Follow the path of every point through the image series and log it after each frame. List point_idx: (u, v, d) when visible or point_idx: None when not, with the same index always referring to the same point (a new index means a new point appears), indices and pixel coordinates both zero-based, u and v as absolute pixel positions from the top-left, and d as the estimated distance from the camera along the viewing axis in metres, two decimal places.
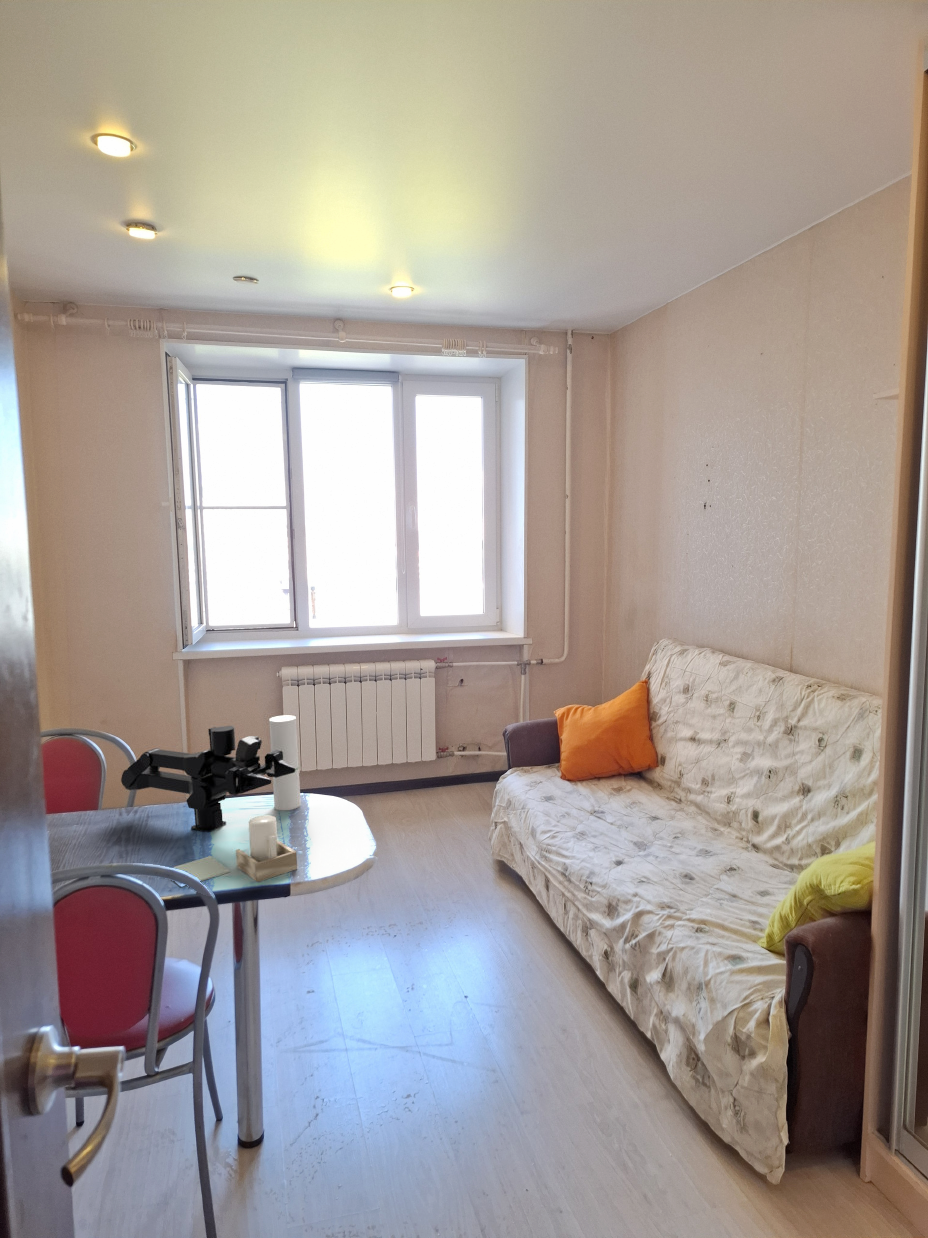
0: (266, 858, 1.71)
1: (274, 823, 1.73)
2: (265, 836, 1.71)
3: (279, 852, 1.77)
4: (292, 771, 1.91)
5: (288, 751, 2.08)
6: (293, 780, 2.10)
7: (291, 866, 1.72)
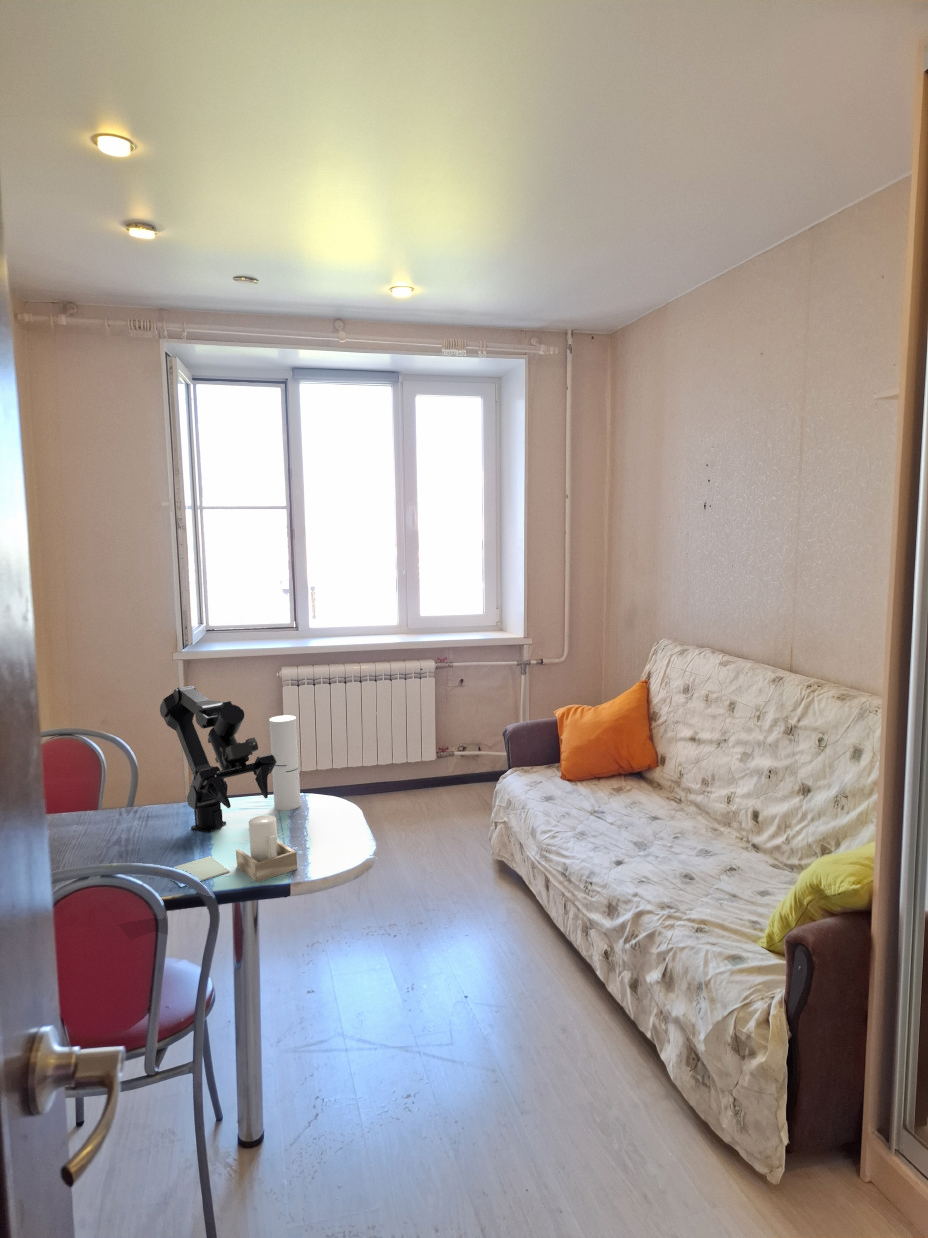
0: (266, 858, 1.71)
1: (274, 823, 1.73)
2: (265, 836, 1.71)
3: (279, 852, 1.77)
4: (264, 796, 1.82)
5: (288, 751, 2.08)
6: (293, 780, 2.10)
7: (291, 866, 1.72)
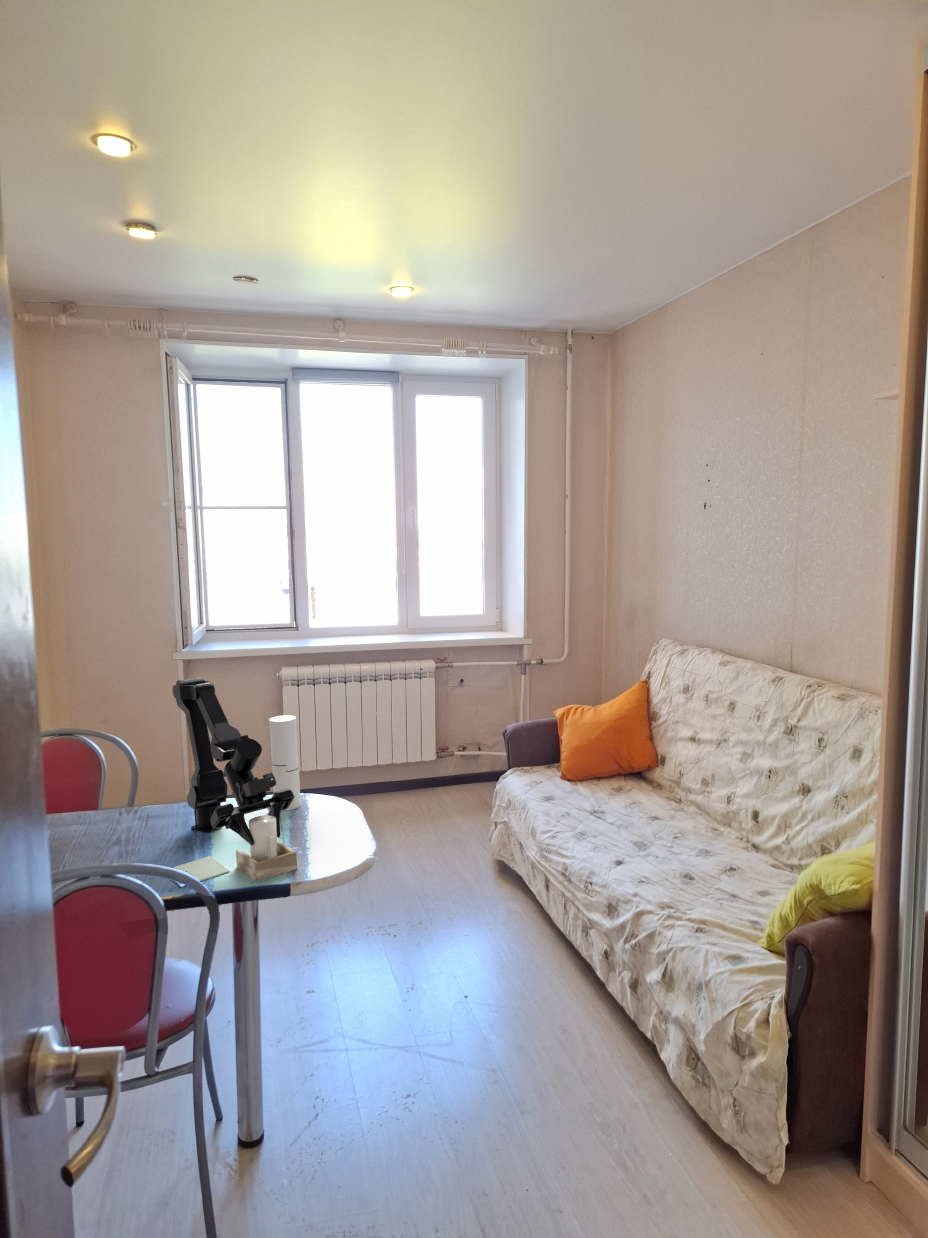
0: (266, 858, 1.71)
1: (274, 823, 1.73)
2: (265, 836, 1.71)
3: (279, 852, 1.77)
4: (277, 835, 1.75)
5: (288, 751, 2.08)
6: (293, 780, 2.10)
7: (291, 866, 1.72)
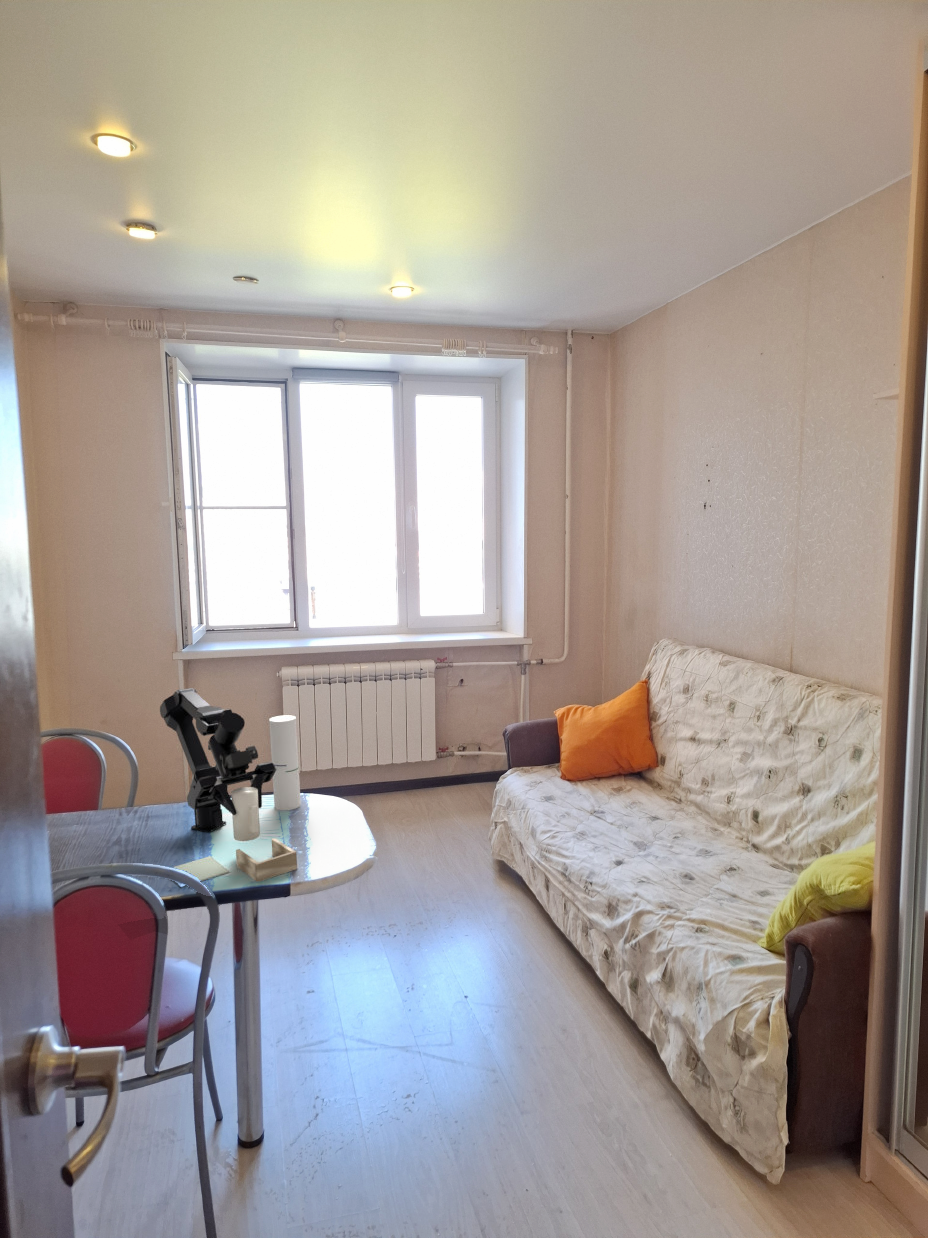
0: (248, 827, 1.78)
1: (256, 794, 1.79)
2: (246, 806, 1.77)
3: (279, 852, 1.77)
4: None
5: (288, 751, 2.08)
6: (293, 780, 2.10)
7: (291, 866, 1.72)
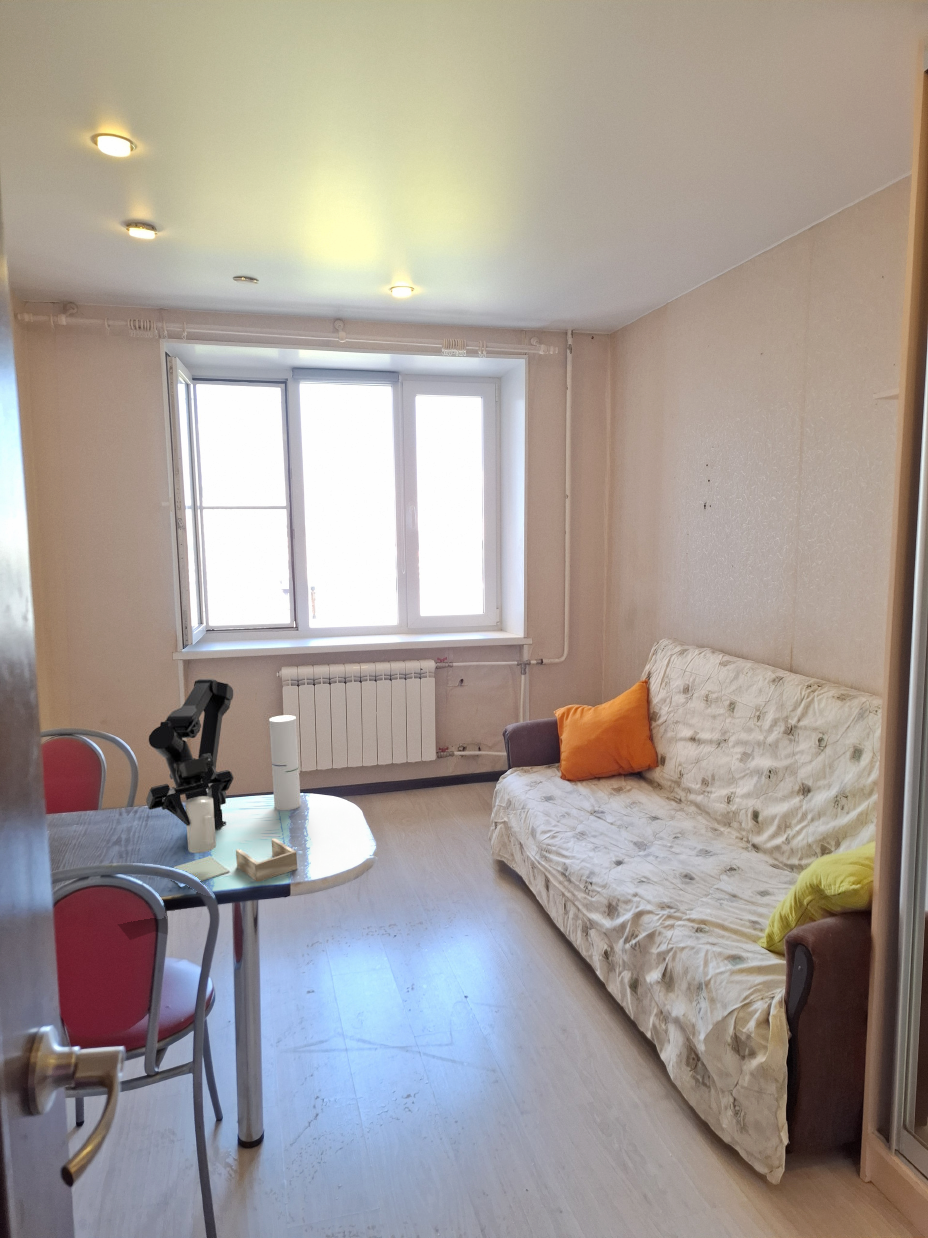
0: (202, 838, 1.70)
1: (211, 803, 1.72)
2: (201, 816, 1.70)
3: (279, 852, 1.77)
4: (214, 816, 1.74)
5: (287, 751, 2.08)
6: (293, 780, 2.10)
7: (291, 866, 1.72)
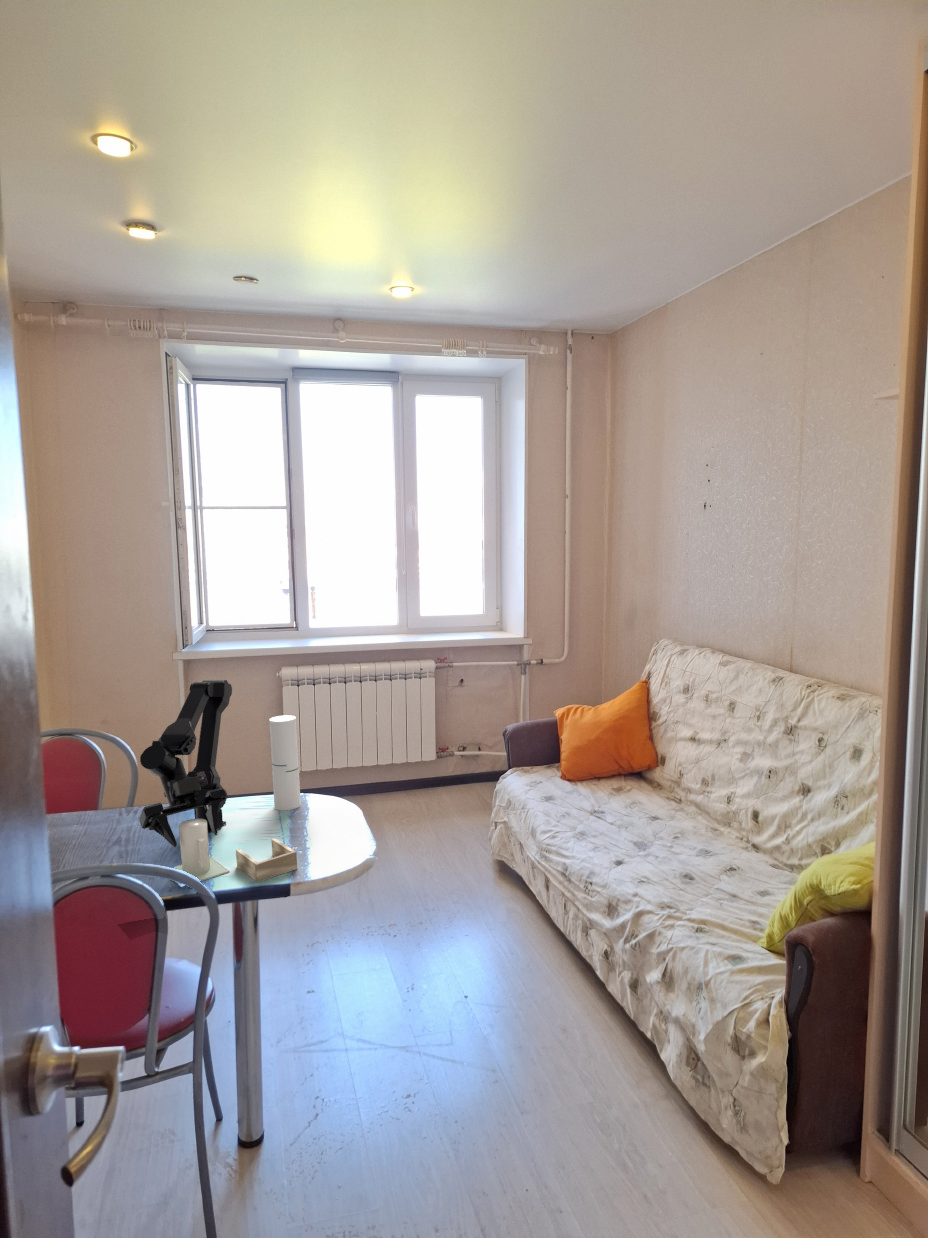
0: (196, 862, 1.70)
1: (205, 826, 1.71)
2: (194, 839, 1.69)
3: (279, 852, 1.77)
4: (214, 833, 1.74)
5: (288, 751, 2.08)
6: (293, 780, 2.10)
7: (291, 866, 1.72)
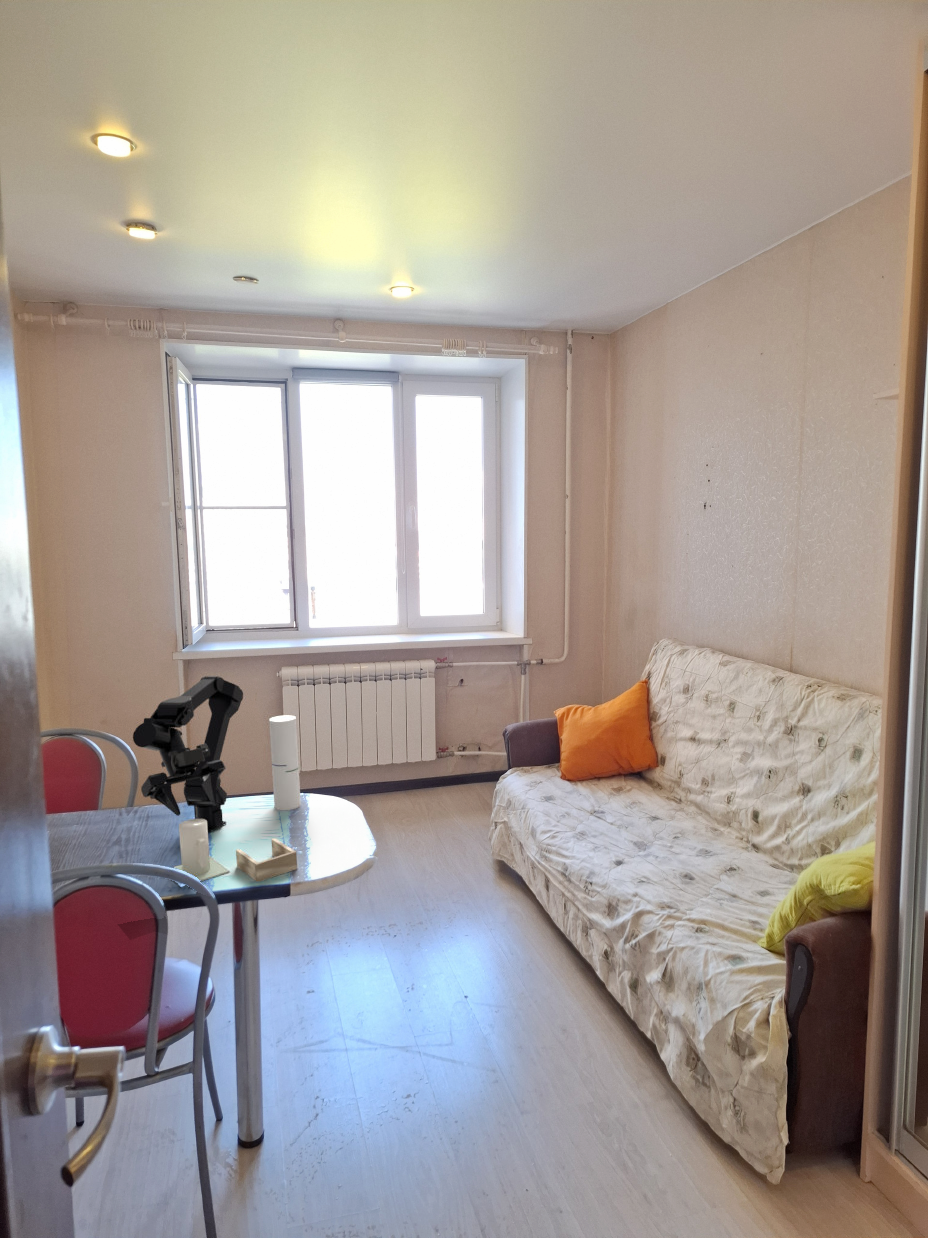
0: (196, 862, 1.70)
1: (205, 826, 1.71)
2: (194, 839, 1.69)
3: (279, 852, 1.77)
4: (213, 803, 1.79)
5: (288, 751, 2.08)
6: (293, 780, 2.10)
7: (291, 866, 1.72)
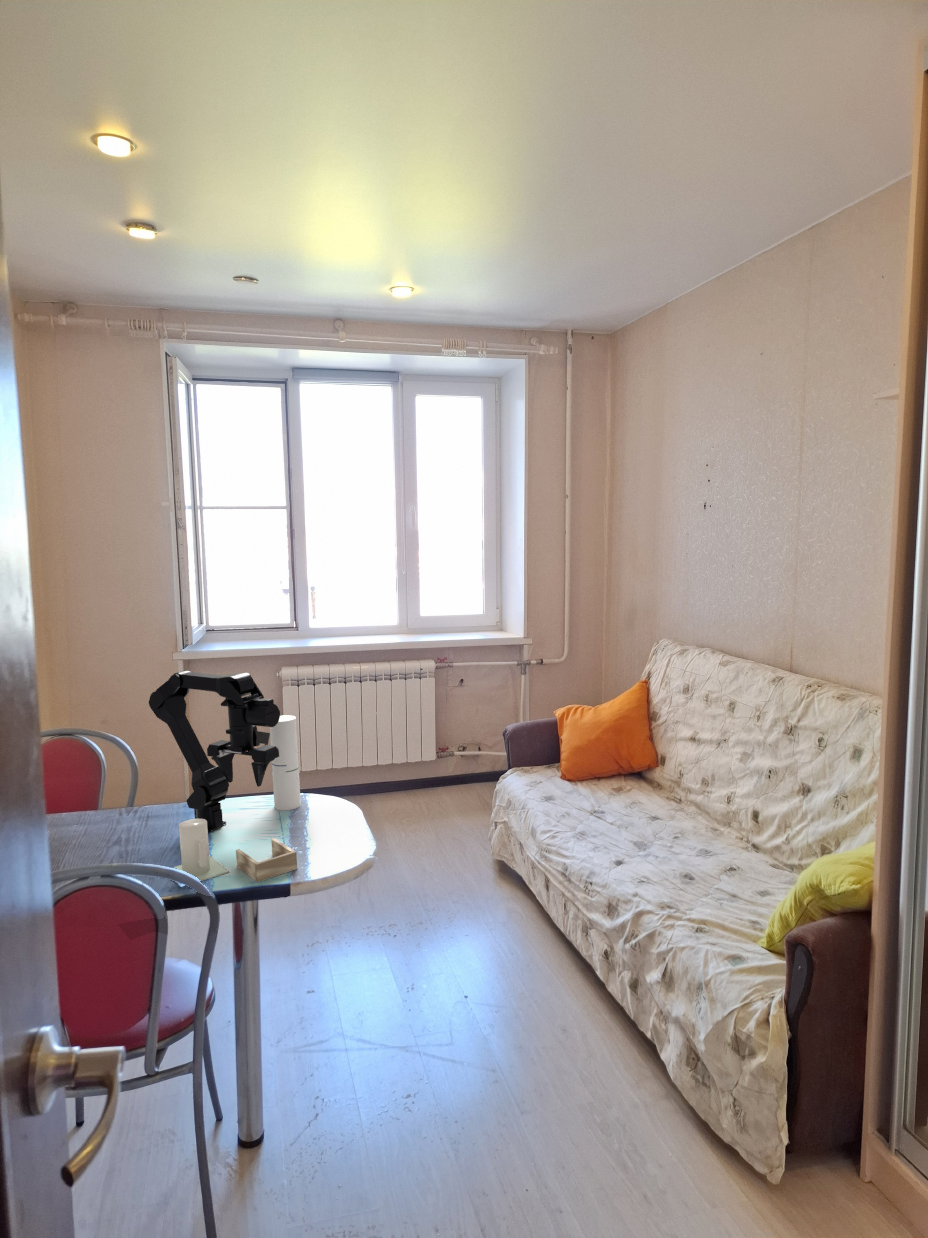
0: (196, 862, 1.70)
1: (205, 826, 1.71)
2: (194, 839, 1.69)
3: (279, 852, 1.77)
4: (230, 780, 1.94)
5: (288, 751, 2.08)
6: (293, 780, 2.10)
7: (291, 866, 1.72)
